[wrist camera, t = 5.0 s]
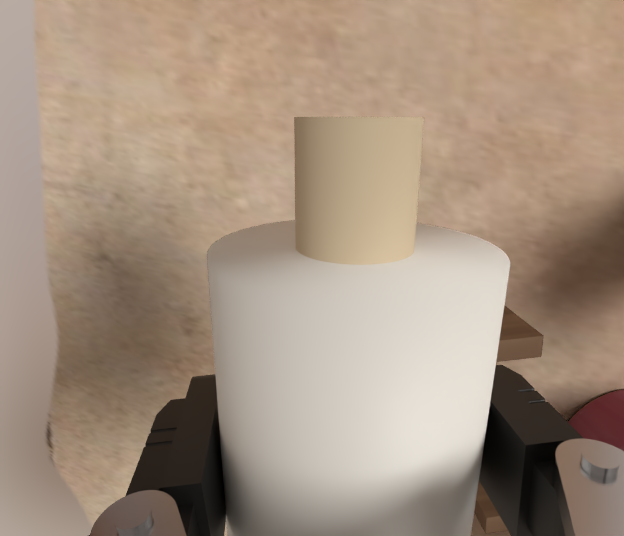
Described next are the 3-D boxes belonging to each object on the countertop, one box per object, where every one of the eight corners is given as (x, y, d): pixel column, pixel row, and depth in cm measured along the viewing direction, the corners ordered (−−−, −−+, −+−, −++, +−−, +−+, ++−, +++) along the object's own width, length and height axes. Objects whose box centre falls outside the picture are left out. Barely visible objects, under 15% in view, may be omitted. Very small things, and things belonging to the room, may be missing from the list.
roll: (324, 118, 11) (127, 116, 7) (564, 118, 8) (450, 113, 4) (320, 533, 16) (193, 678, 11) (477, 638, 12) (378, 889, 8)
